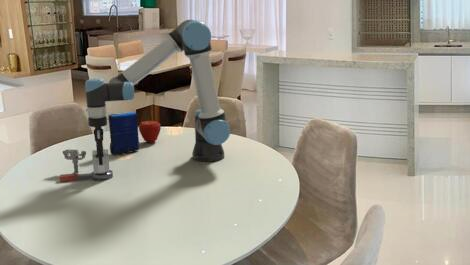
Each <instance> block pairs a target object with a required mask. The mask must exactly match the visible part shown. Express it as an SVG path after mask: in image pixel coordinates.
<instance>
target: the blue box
mask: <svg viewBox="0 0 470 265" xmlns="http://www.w3.org/2000/svg"><path fill="white" fill-rule="evenodd" d="M107 119H108V125H109V126H108V127H109V138H110V143H109V152H110V155H113V156H116V155H123V154H128V153H129V154H130V153H132V152H136V151H137V152H138V151H139V150H140V138H139V125H138V124H139V122H138V114H137V113H136V112H135V111H129V112H122V113H110V114H108V118H107Z"/></svg>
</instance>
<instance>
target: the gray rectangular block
mask: <svg viewBox="0 0 470 265" xmlns="http://www.w3.org/2000/svg"><path fill="white" fill-rule="evenodd" d="M103 155H104V166H105V172H109V170H110V160H109V158H110V157H109V149H105V150H103ZM91 156H92V168H93V171H94V173H99V172H98V162H97V158H96V157H95V156H97V149H96V150H92V151H91Z"/></svg>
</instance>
